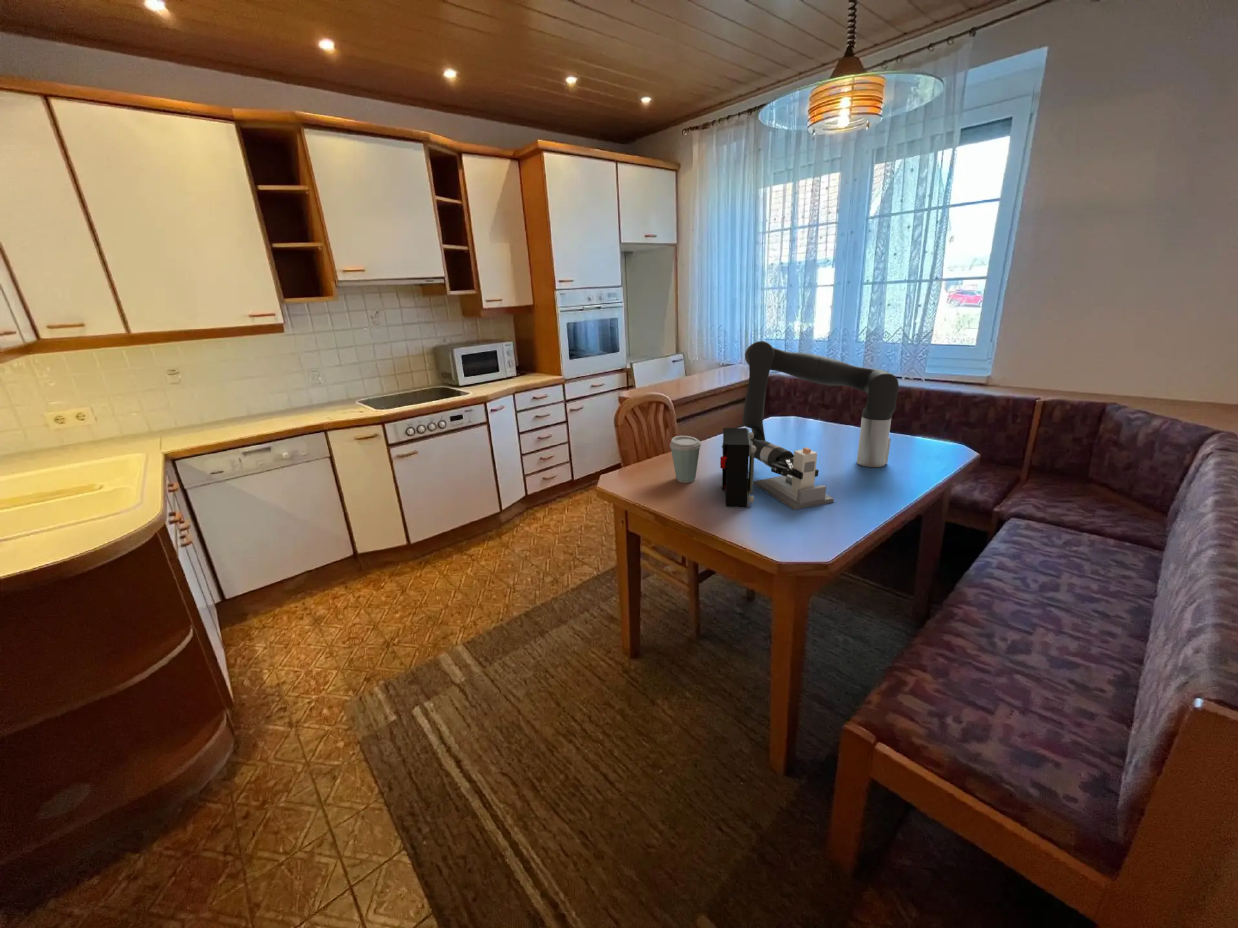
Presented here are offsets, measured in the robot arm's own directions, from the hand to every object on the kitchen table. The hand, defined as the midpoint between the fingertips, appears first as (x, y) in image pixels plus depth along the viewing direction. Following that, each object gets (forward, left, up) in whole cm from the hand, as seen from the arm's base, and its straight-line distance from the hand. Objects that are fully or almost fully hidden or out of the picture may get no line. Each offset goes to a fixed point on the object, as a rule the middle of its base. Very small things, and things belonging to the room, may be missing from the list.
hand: (809, 474), depth 147 cm
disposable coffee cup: (+26, -32, -9) cm, 42 cm away
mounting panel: (0, -8, -9) cm, 12 cm away
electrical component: (+17, -13, -9) cm, 23 cm away
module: (0, -3, -7) cm, 8 cm away
